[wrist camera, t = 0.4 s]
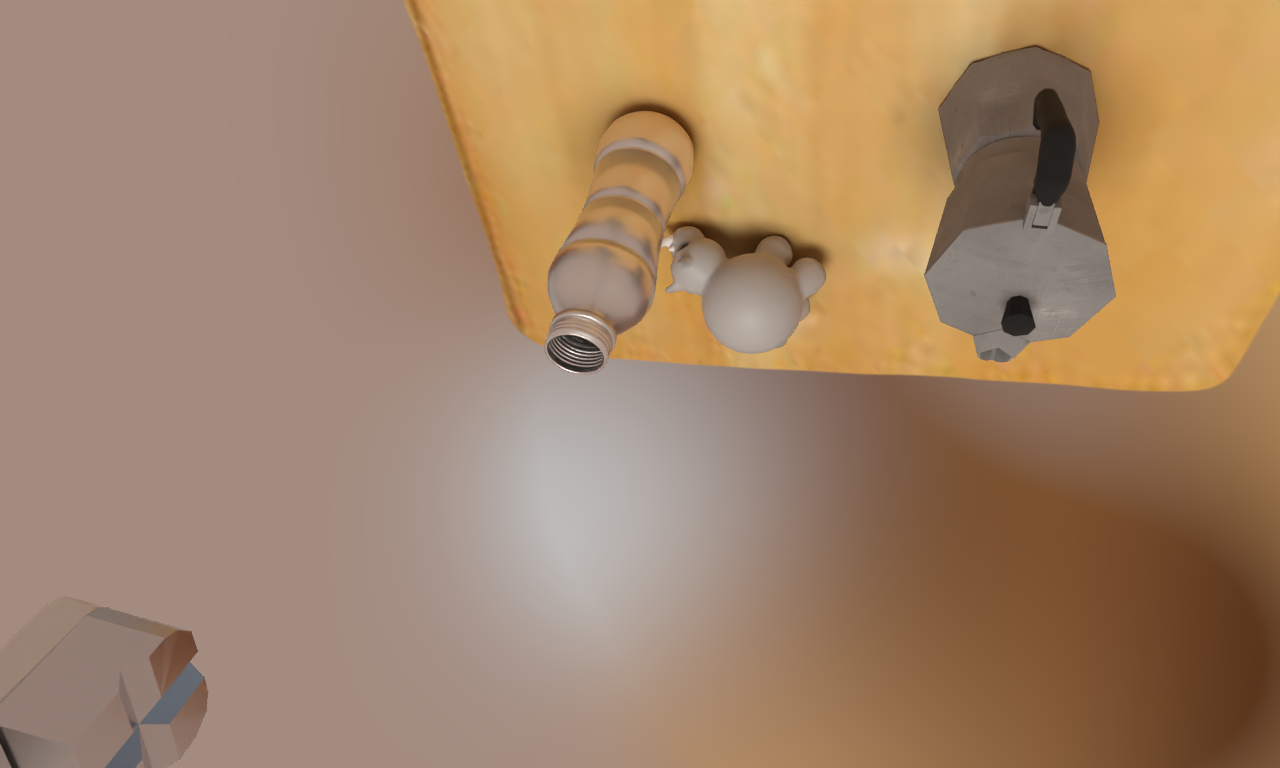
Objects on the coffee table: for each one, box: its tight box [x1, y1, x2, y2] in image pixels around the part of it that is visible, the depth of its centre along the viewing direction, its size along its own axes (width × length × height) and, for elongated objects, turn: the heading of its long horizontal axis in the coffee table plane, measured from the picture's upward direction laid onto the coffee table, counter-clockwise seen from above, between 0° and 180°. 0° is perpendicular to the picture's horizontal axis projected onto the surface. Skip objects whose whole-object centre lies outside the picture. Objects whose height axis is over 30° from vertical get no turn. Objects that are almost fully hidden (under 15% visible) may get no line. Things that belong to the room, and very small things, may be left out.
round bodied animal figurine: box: [661, 226, 826, 354], centre depth 71 cm, size 7×12×8 cm, turn 75°
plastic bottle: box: [545, 111, 694, 375], centre depth 61 cm, size 6×7×20 cm
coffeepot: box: [924, 47, 1116, 362], centre depth 53 cm, size 15×9×18 cm, turn 4°
